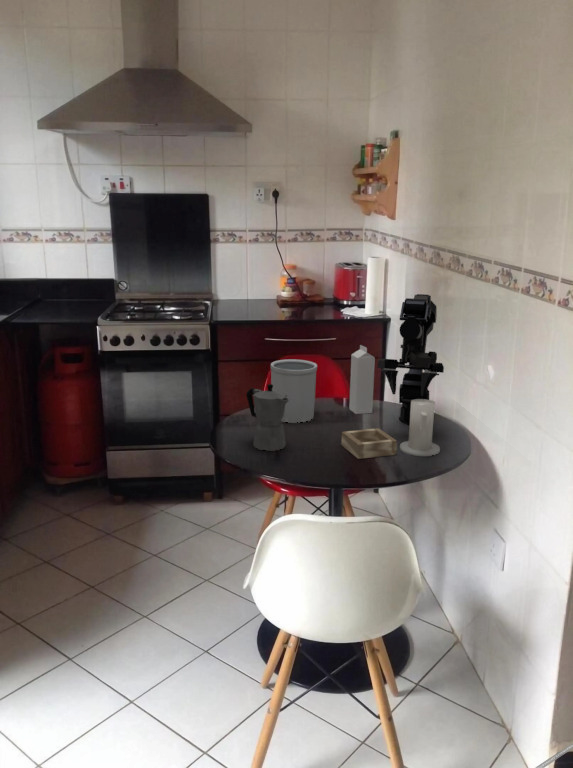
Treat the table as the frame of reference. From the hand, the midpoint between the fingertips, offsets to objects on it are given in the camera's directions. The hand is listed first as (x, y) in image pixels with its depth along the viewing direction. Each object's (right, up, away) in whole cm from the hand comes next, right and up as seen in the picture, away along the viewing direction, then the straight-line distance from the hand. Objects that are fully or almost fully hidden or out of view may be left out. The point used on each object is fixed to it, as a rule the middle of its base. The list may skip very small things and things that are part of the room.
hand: (408, 395), depth 196 cm
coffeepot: (-41, -14, -5) cm, 44 cm away
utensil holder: (-33, -8, +21) cm, 40 cm away
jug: (+2, -15, -9) cm, 17 cm away
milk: (-11, -6, +28) cm, 31 cm away
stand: (-13, -15, -8) cm, 21 cm away
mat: (+2, -15, -7) cm, 17 cm away
